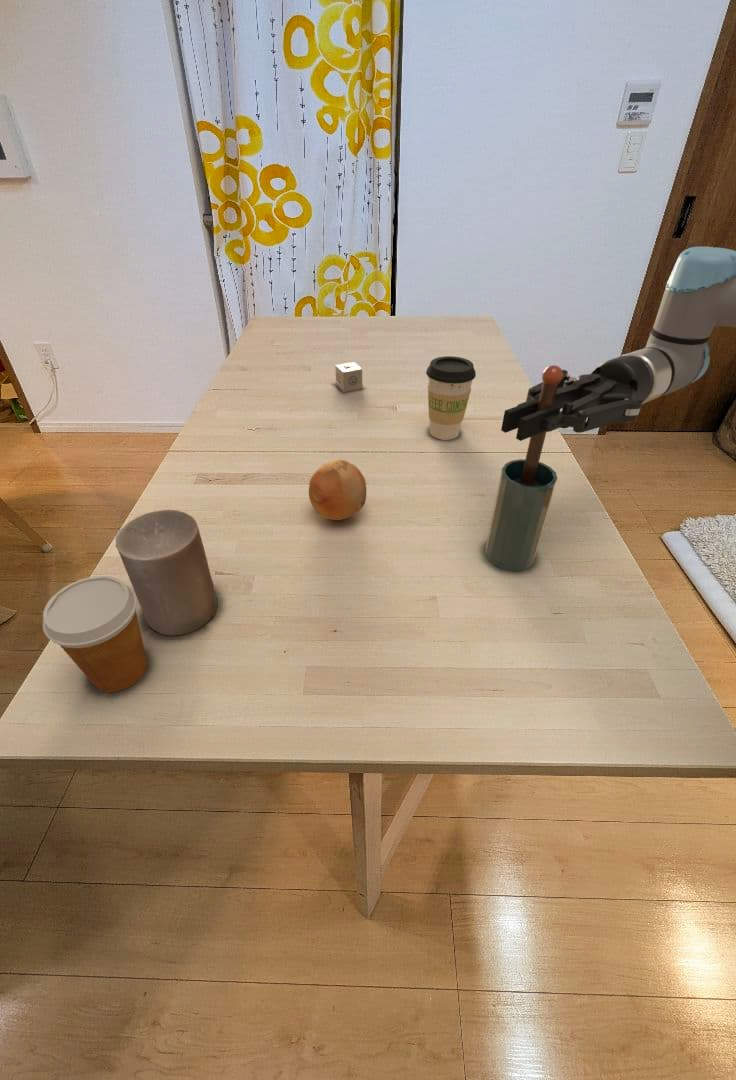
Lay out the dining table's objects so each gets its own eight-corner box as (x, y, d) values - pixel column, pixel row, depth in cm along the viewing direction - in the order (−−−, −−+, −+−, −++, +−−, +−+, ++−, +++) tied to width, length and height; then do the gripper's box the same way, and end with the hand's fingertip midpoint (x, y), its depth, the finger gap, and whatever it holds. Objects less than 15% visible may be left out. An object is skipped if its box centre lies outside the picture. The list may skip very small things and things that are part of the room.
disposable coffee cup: (125, 629, 69) (96, 562, 61) (176, 659, 65) (152, 592, 57) (60, 681, 62) (18, 614, 55) (113, 718, 59) (75, 651, 51)
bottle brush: (534, 543, 77) (581, 371, 60) (506, 547, 76) (546, 374, 60) (521, 525, 80) (562, 358, 64) (494, 529, 80) (529, 360, 63)
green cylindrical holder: (543, 558, 80) (568, 475, 71) (512, 578, 77) (533, 494, 67) (506, 534, 85) (525, 453, 75) (475, 552, 81) (490, 470, 72)
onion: (320, 494, 93) (317, 444, 87) (373, 502, 91) (374, 452, 85) (301, 525, 86) (296, 474, 80) (358, 535, 84) (358, 484, 78)
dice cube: (336, 384, 131) (335, 365, 128) (354, 381, 132) (353, 362, 129) (343, 392, 127) (343, 372, 124) (362, 388, 129) (362, 369, 126)
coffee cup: (422, 443, 108) (428, 373, 98) (420, 421, 115) (425, 354, 106) (469, 444, 108) (480, 374, 98) (464, 422, 115) (473, 355, 106)
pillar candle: (220, 582, 76) (200, 497, 66) (215, 633, 68) (191, 546, 59) (151, 588, 75) (120, 503, 65) (138, 641, 67) (101, 554, 58)
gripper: (666, 426, 71) (553, 479, 61) (577, 389, 81) (466, 429, 70) (688, 373, 66) (570, 420, 56) (591, 340, 76) (474, 375, 65)
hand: (512, 425), depth 63 cm, fingers closed on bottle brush, 2 cm apart
